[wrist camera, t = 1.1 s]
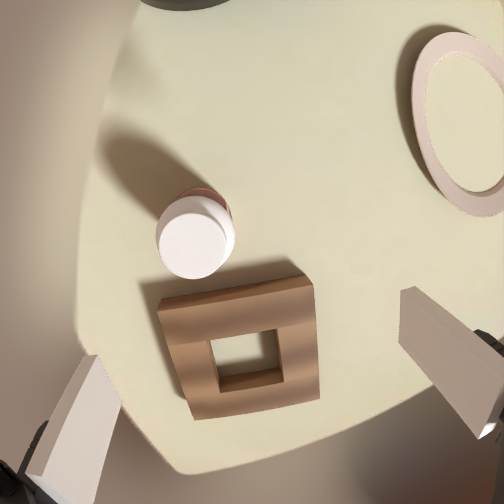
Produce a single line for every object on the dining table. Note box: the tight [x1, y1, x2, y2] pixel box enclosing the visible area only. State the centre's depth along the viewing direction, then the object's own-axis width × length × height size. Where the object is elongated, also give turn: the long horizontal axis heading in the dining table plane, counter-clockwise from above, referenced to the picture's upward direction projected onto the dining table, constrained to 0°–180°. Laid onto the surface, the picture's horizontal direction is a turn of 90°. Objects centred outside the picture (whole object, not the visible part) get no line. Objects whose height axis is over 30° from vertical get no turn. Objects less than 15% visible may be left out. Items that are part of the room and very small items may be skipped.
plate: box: [411, 32, 504, 217], centre depth 31 cm, size 26×26×2 cm
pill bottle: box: [156, 188, 235, 279], centre depth 26 cm, size 6×6×11 cm
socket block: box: [157, 275, 320, 420], centre depth 35 cm, size 16×16×3 cm
